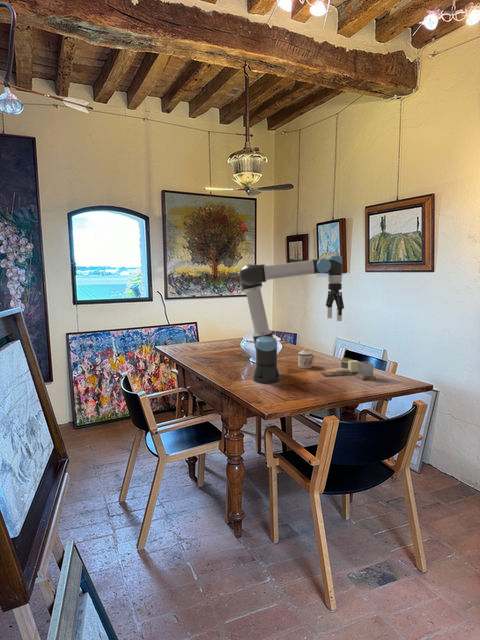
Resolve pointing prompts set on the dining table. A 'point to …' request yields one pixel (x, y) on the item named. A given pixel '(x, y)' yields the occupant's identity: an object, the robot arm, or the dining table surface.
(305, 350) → the teacup with lid
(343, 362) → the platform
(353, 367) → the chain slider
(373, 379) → the square plate with peg
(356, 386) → the dining table surface
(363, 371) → the grey hollow square block
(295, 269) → the robot arm
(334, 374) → the rail
